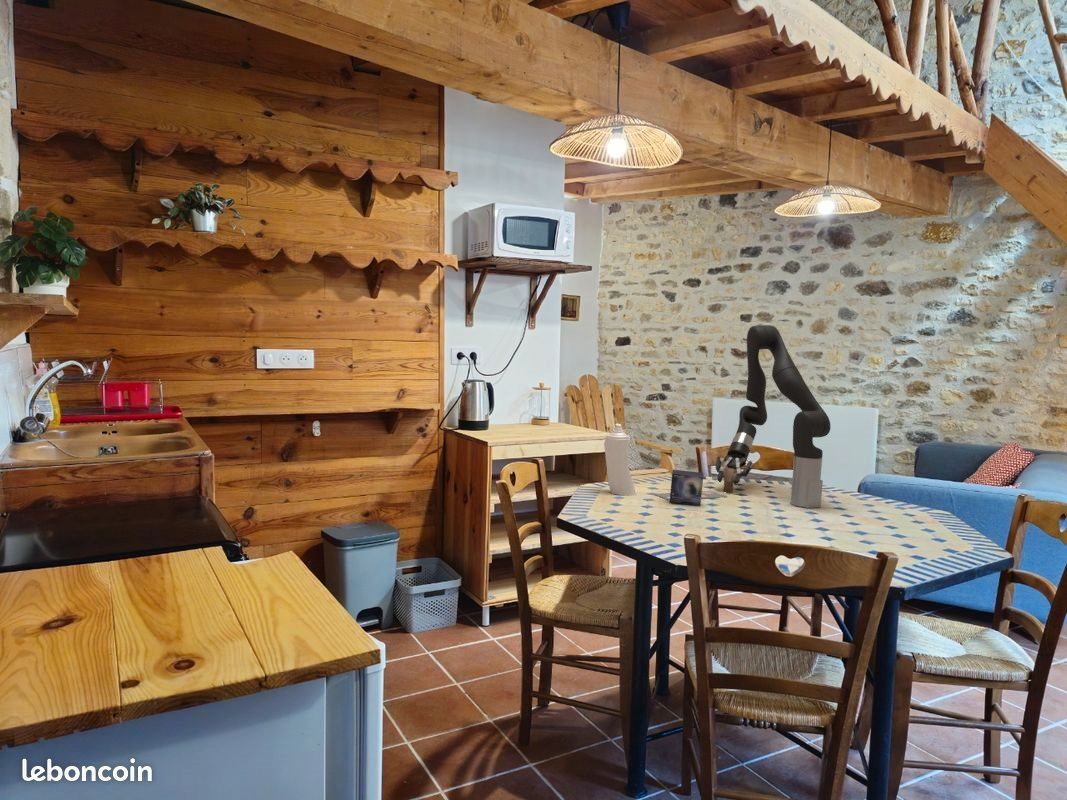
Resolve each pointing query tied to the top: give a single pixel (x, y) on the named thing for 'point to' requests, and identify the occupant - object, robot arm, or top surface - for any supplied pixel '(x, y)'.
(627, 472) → the spray can
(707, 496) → the board
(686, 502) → the small box
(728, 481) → the peg
